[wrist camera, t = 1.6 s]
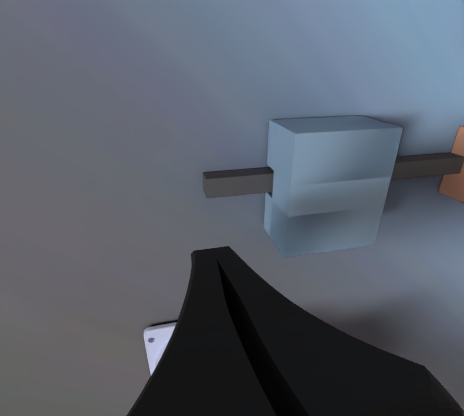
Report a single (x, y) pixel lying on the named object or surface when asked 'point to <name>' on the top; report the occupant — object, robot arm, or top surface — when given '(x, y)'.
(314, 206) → the pale blue notched block
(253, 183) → the dark grey bar
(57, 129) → the top surface
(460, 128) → the band
